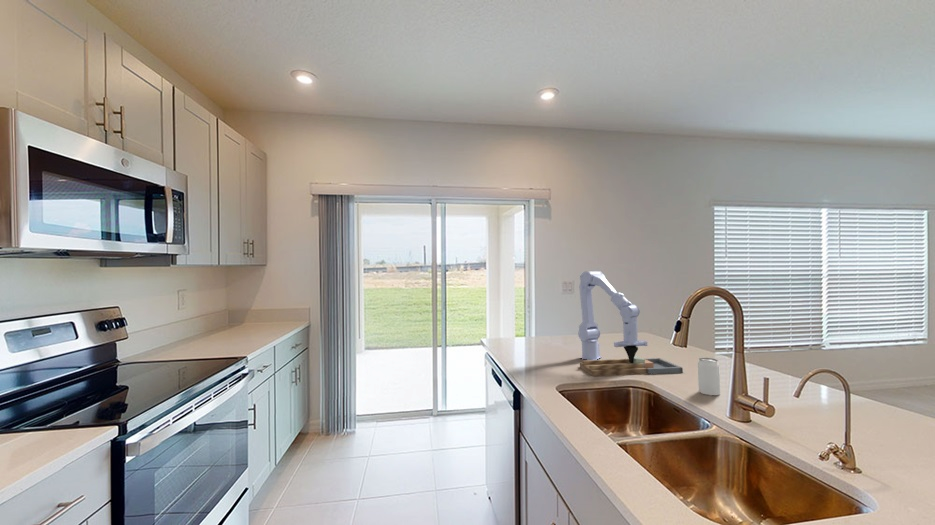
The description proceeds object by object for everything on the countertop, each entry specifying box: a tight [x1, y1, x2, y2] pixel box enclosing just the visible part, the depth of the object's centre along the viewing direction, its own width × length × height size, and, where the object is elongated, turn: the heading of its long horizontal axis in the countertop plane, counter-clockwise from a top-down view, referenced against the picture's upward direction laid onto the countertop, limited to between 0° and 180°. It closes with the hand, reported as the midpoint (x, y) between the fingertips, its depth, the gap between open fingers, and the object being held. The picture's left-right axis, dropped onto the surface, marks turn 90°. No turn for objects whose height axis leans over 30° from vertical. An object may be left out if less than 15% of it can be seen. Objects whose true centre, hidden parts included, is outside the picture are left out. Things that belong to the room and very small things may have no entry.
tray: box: [645, 357, 684, 375], centre depth 163 cm, size 15×16×2 cm
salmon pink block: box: [644, 358, 654, 369], centre depth 163 cm, size 4×6×3 cm, turn 4°
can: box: [697, 357, 721, 396], centre depth 131 cm, size 6×6×12 cm
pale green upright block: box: [629, 355, 646, 367], centre depth 162 cm, size 4×6×3 cm, turn 4°
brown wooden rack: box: [579, 358, 648, 377], centre depth 162 cm, size 24×14×4 cm, turn 94°
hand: (631, 362), depth 162 cm, fingers closed
